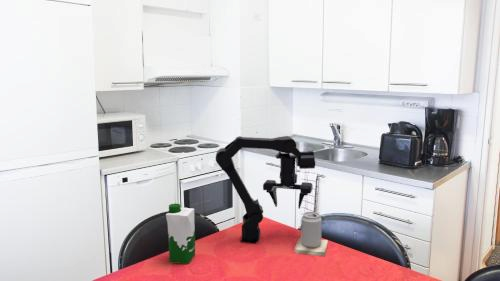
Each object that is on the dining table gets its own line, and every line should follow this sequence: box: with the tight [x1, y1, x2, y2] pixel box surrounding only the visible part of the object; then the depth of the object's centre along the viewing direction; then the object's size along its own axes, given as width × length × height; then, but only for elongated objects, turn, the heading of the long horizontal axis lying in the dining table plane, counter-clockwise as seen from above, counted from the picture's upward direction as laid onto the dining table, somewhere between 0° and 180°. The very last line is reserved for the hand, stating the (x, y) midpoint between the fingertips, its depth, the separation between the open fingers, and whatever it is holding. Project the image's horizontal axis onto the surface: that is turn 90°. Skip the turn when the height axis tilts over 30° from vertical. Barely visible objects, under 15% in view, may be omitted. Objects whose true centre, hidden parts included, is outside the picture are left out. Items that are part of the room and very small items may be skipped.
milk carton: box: [165, 203, 196, 265], centre depth 142 cm, size 9×9×20 cm
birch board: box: [294, 236, 329, 257], centre depth 151 cm, size 11×11×2 cm
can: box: [300, 211, 323, 248], centre depth 150 cm, size 8×8×12 cm
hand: (287, 207), depth 158 cm, fingers open, 9 cm apart
